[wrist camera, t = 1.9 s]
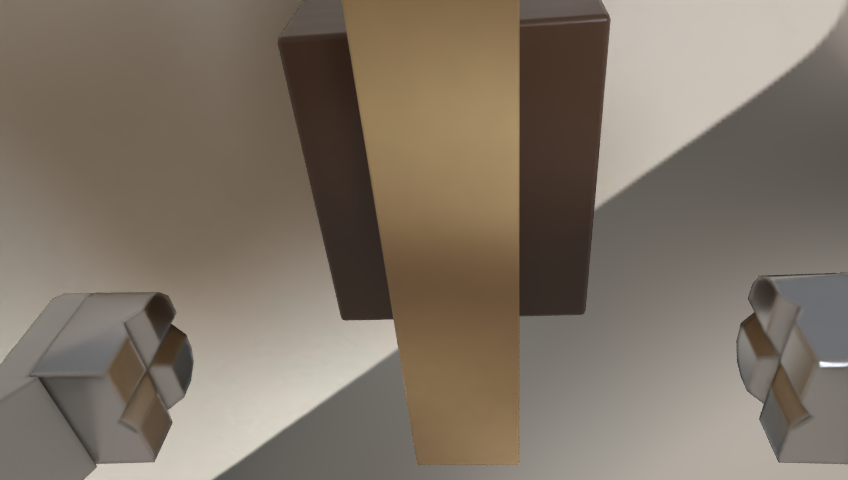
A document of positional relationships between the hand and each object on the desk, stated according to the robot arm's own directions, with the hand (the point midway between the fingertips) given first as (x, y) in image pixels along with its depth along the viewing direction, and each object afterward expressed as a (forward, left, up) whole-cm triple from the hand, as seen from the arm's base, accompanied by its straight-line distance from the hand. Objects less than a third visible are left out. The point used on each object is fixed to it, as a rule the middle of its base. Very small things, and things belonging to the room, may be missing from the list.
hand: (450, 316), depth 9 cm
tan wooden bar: (0, 0, -3) cm, 3 cm away
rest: (0, 0, -15) cm, 15 cm away
